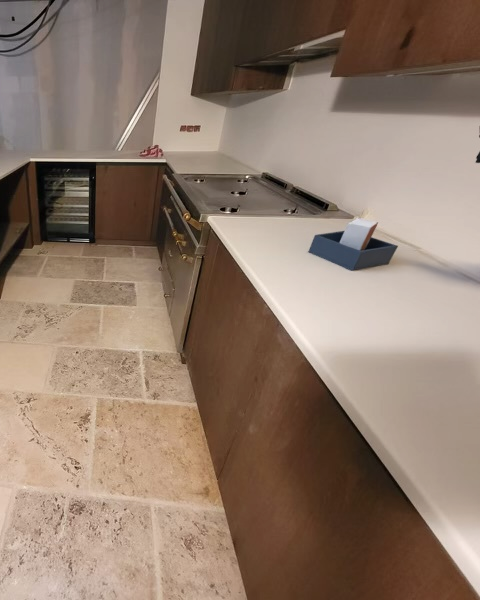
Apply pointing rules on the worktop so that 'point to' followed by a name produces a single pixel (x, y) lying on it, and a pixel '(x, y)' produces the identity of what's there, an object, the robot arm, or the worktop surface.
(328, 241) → the tray
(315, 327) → the worktop surface
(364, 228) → the small box
